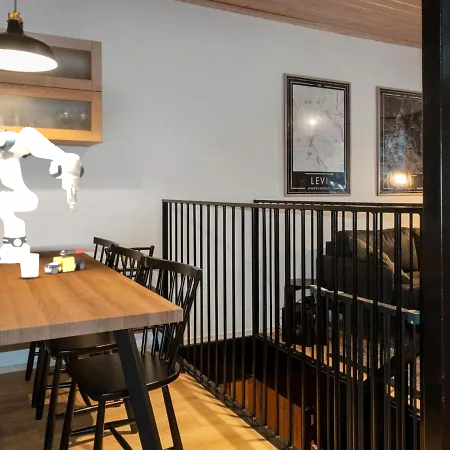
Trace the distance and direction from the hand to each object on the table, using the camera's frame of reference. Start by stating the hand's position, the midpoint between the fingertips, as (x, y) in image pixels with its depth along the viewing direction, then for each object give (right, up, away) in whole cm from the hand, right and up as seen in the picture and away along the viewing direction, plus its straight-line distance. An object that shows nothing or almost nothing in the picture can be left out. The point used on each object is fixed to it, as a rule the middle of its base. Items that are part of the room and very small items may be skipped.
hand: (72, 212), depth 243 cm
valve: (0, -29, -11) cm, 31 cm away
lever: (+3, -21, -7) cm, 22 cm away
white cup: (-10, -30, -28) cm, 42 cm away
